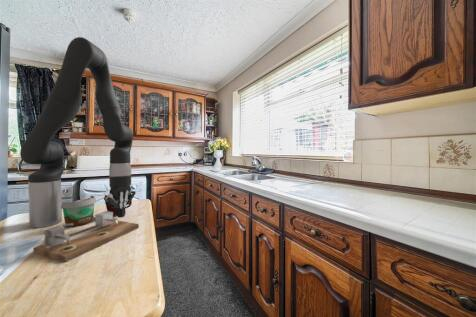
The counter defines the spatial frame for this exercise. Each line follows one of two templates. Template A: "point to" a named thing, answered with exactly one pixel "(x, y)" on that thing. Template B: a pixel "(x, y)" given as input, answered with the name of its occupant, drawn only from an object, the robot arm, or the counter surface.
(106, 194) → the mug
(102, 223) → the leg
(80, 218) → the food container
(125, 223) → the hole board
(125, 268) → the counter surface
